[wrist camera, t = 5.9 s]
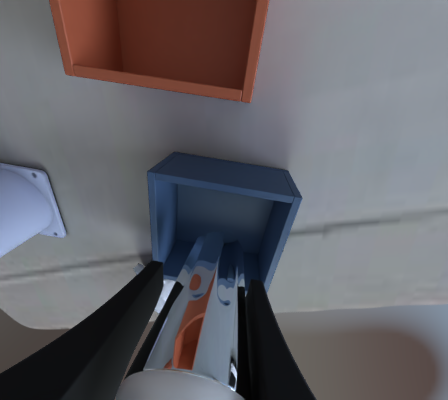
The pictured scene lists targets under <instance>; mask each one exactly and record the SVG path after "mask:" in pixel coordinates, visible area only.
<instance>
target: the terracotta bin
mask: <svg viewBox="0 0 448 400" xmlns="http://www.w3.org/2000/svg"><path fill="white" fill-rule="evenodd" d="M49 2H50V7H51V11H52V16H53V20H54V25H55V29H56V34H57V38H58V43H59V48H60V52H61V57H62V61H63V66H64V70H65V74H66V75H70V76H77V77H83V78H90V79H96V80H103V81H109V82H116V83H123V84H129V85H136V86H142V87H149V88H155V89H162V90H168V91H175V92H181V93H188V94H194V95H201V96H207V97H214V98H220V99H227V100H234V101H242V102H247V103H251V100H252V94H253V88H254V83H255V77H256V72H257V66H258V61H259V55H260V49H261V44H262V38H263V33H264V27H265V21H266V16H267V10H268V5H269V0H49Z"/></svg>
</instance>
